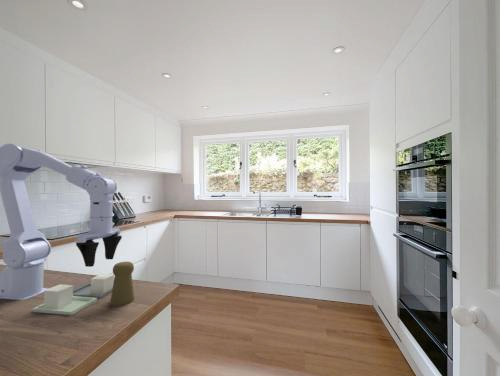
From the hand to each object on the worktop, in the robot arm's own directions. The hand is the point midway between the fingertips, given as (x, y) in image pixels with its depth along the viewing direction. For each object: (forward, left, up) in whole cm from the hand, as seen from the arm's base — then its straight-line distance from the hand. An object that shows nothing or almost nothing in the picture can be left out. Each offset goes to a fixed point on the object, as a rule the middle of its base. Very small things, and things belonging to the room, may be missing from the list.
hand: (100, 262), depth 70 cm
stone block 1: (-4, -9, -9) cm, 13 cm away
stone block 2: (0, +1, -9) cm, 9 cm away
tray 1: (-2, -9, -10) cm, 13 cm away
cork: (+10, -4, -10) cm, 15 cm away
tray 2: (-2, +1, -10) cm, 10 cm away
